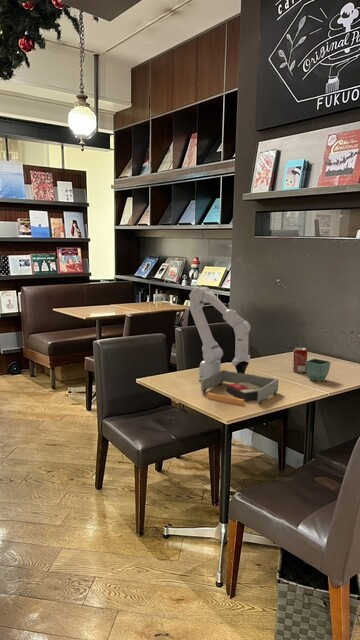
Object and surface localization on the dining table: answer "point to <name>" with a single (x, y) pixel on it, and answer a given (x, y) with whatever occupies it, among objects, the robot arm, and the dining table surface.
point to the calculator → (243, 391)
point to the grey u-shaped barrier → (265, 383)
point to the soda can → (299, 360)
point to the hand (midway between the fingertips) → (240, 377)
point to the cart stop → (225, 398)
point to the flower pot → (317, 369)
